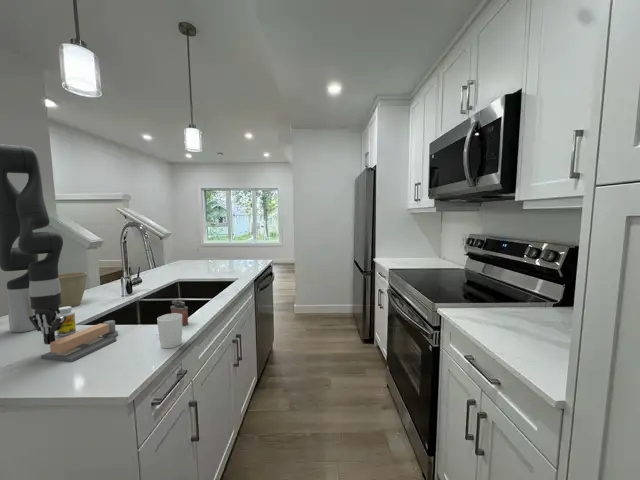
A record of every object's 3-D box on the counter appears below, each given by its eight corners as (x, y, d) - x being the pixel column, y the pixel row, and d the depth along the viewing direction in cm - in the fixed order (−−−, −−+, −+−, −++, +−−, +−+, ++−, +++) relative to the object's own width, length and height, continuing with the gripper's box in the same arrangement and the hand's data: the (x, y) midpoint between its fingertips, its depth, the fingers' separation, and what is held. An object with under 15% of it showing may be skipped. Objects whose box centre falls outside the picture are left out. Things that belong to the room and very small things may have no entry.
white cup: (164, 340, 108) (163, 313, 107) (186, 339, 108) (185, 312, 108) (154, 350, 100) (152, 321, 99) (178, 349, 101) (177, 320, 100)
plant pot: (95, 300, 159) (93, 271, 157) (74, 309, 144) (72, 277, 142) (67, 301, 158) (64, 272, 156) (42, 310, 143) (39, 277, 142)
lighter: (190, 323, 124) (189, 300, 123) (184, 326, 121) (183, 302, 120) (175, 321, 127) (174, 298, 126) (169, 324, 123) (168, 301, 123)
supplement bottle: (55, 337, 111) (53, 311, 110) (58, 332, 115) (56, 307, 114) (75, 334, 114) (73, 308, 113) (76, 329, 118) (75, 304, 117)
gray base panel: (41, 358, 94) (41, 354, 94) (102, 332, 115) (102, 329, 115) (71, 361, 92) (71, 358, 92) (128, 334, 113) (128, 331, 113)
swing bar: (109, 330, 114) (108, 319, 113) (118, 330, 113) (117, 320, 113) (50, 355, 93) (49, 342, 93) (61, 356, 93) (60, 343, 92)
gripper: (16, 294, 94) (21, 346, 96) (49, 296, 92) (53, 350, 93) (42, 289, 102) (46, 337, 103) (73, 290, 99) (77, 340, 100)
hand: (49, 343), depth 98 cm, fingers closed
